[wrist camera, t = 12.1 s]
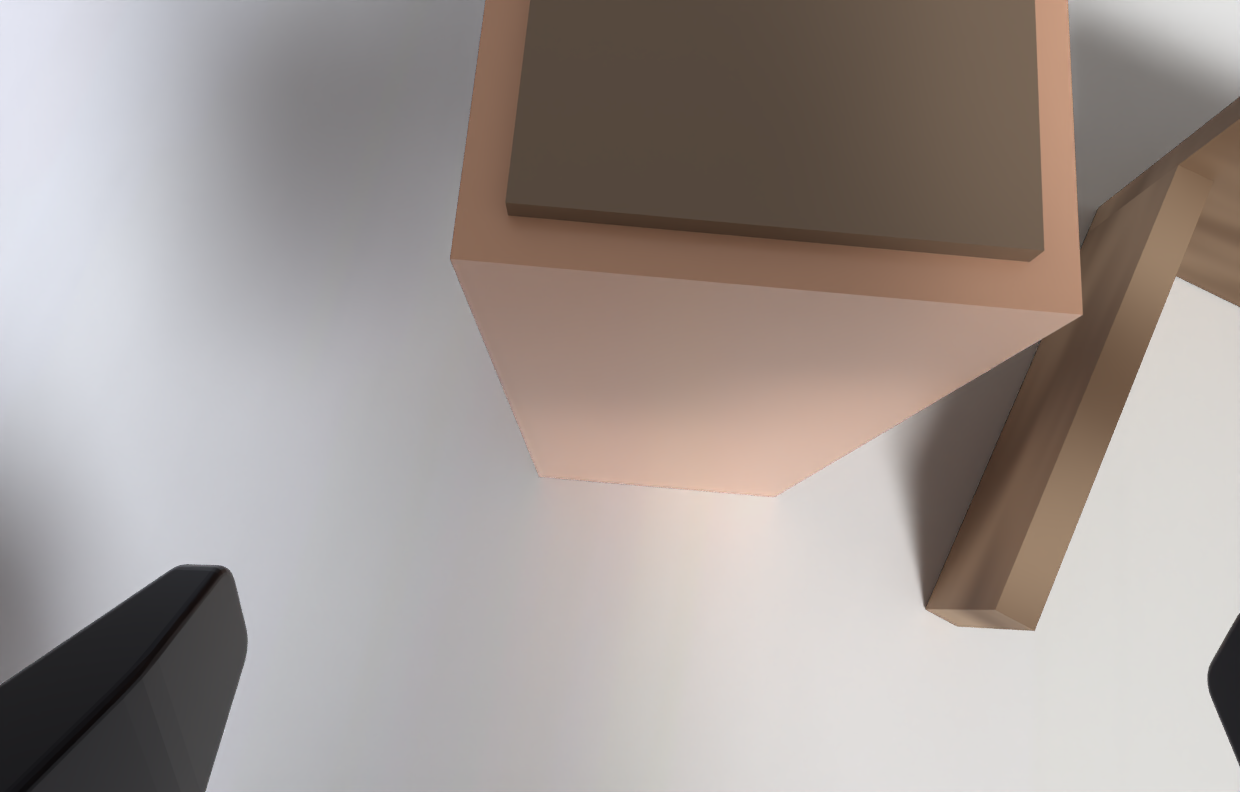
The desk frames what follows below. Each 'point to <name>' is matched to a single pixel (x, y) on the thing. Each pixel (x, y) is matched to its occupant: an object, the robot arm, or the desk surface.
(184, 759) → the robot arm
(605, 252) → the tall peach pillar
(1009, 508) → the brown l-shaped block
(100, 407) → the desk surface
